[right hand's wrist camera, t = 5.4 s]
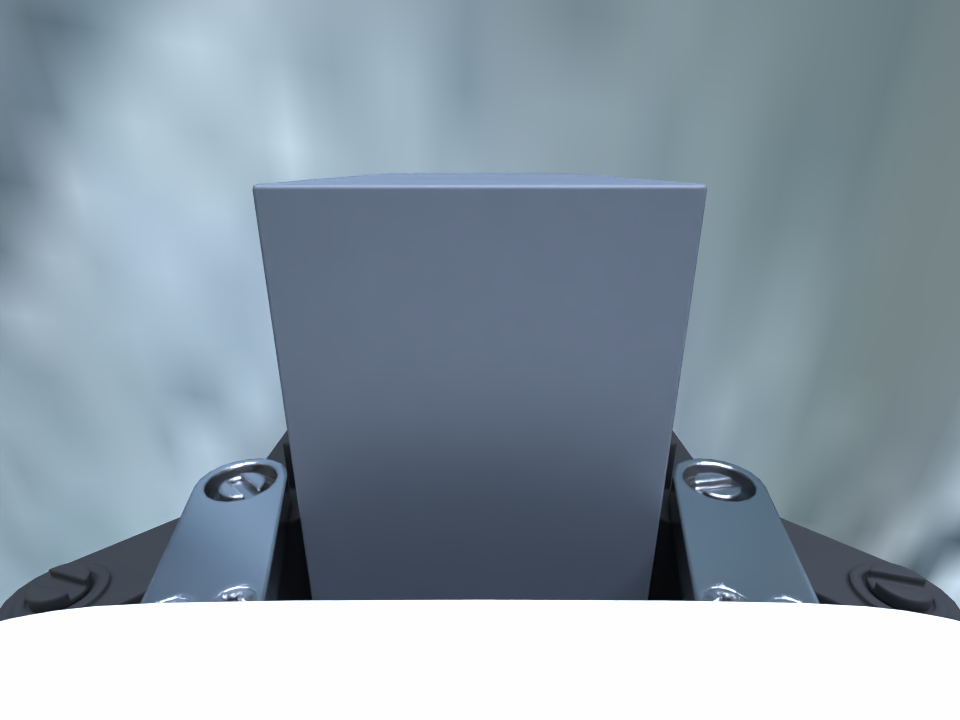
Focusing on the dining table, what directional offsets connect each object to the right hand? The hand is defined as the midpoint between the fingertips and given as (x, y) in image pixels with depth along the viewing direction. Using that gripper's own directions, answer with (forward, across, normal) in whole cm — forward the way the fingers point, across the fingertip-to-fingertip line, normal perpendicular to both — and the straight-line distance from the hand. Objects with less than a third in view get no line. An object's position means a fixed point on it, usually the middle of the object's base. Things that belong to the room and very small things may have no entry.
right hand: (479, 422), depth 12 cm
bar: (+2, 0, -25) cm, 25 cm away
